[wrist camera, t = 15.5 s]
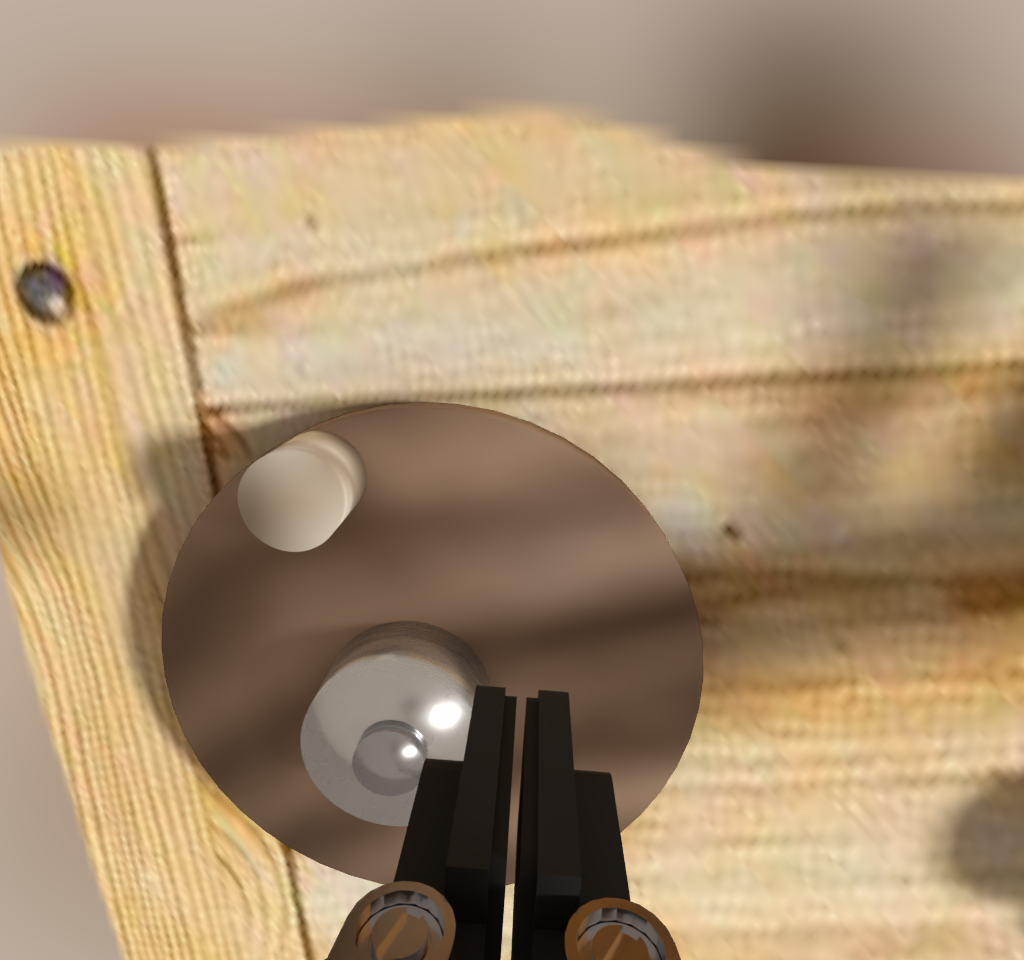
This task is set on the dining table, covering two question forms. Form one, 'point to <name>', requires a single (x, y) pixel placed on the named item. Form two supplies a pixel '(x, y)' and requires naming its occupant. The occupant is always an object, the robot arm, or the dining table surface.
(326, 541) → the turntable
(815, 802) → the dining table surface
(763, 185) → the dining table surface
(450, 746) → the cap
